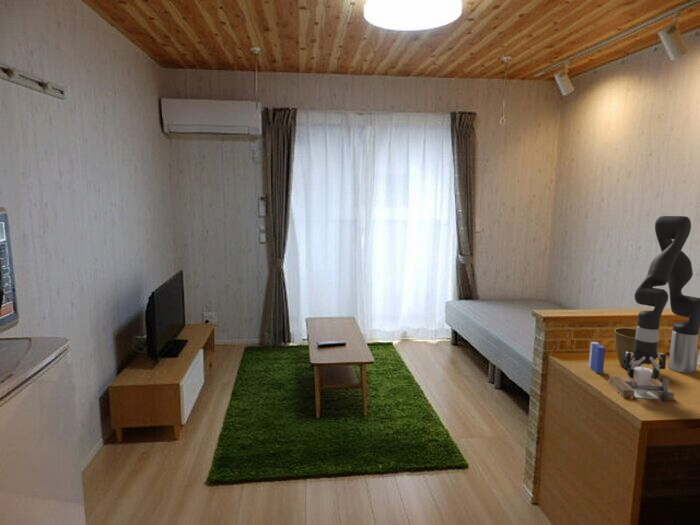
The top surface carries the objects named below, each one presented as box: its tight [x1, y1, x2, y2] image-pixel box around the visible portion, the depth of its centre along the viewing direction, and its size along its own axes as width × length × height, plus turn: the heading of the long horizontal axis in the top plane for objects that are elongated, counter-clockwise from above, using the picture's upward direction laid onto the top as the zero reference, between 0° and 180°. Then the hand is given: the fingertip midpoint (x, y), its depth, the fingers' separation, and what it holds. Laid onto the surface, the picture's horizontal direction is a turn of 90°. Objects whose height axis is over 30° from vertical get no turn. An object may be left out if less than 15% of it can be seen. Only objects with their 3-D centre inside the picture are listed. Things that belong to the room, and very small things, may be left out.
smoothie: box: [634, 364, 653, 395], centre depth 178 cm, size 6×6×14 cm
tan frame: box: [608, 375, 675, 401], centre depth 180 cm, size 18×13×3 cm
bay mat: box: [632, 388, 659, 400], centre depth 179 cm, size 9×9×1 cm
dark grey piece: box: [632, 377, 670, 403], centre depth 172 cm, size 13×2×9 cm, turn 82°
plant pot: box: [614, 327, 641, 370], centre depth 204 cm, size 15×15×16 cm
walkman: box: [588, 341, 606, 374], centre depth 201 cm, size 8×3×12 cm, turn 176°
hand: (642, 378), depth 178 cm, fingers open, 8 cm apart
